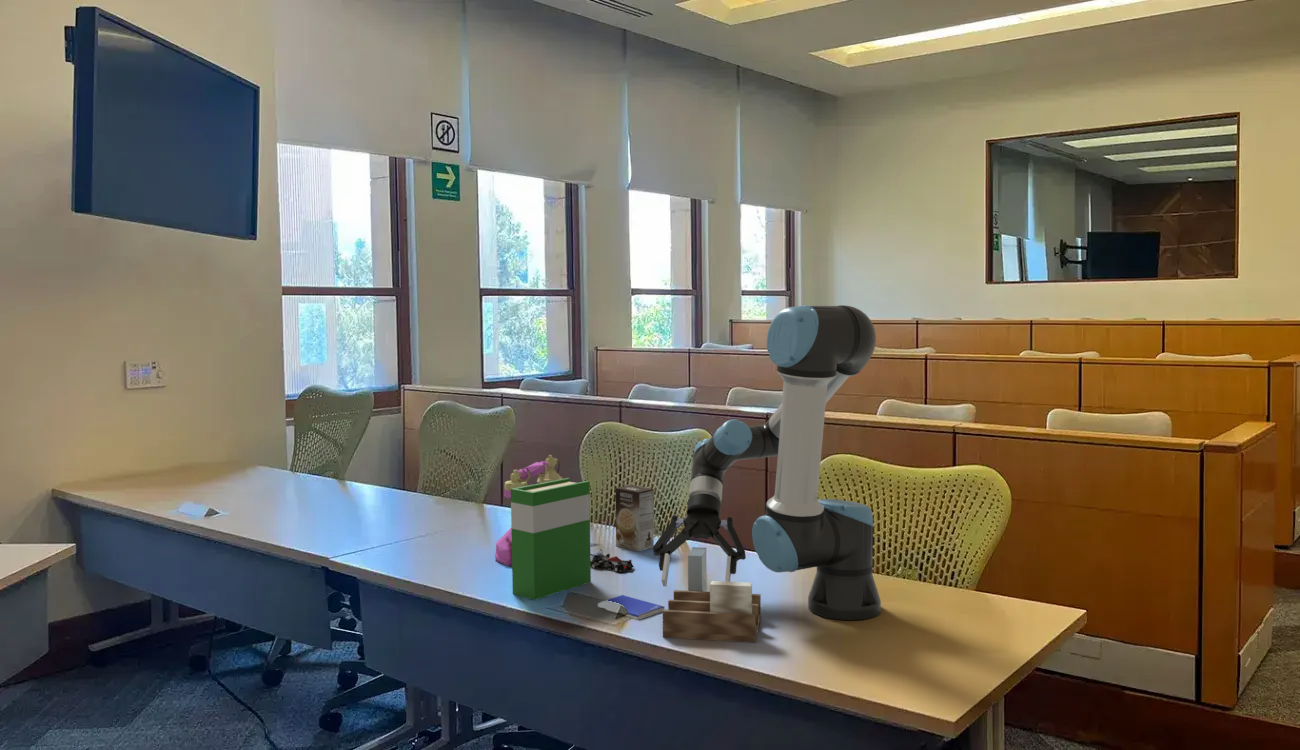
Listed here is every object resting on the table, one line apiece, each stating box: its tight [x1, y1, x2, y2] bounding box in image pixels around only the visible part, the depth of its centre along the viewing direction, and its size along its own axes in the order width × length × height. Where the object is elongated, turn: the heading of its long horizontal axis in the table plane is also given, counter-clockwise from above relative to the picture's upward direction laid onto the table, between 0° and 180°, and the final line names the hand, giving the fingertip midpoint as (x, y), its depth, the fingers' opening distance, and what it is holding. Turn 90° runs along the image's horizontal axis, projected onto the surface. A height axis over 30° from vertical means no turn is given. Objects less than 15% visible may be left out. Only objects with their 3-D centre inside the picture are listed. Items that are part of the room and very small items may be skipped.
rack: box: [662, 580, 762, 643], centre depth 190 cm, size 18×14×10 cm
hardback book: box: [510, 477, 592, 601], centre depth 218 cm, size 18×7×24 cm, turn 139°
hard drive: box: [607, 594, 666, 621], centre depth 203 cm, size 2×8×12 cm
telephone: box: [494, 454, 564, 566], centre depth 250 cm, size 36×22×25 cm, turn 161°
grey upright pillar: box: [687, 546, 708, 592], centre depth 203 cm, size 3×7×12 cm, turn 169°
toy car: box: [590, 548, 635, 573], centre depth 234 cm, size 6×12×4 cm, turn 58°
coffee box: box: [614, 484, 655, 552], centre depth 255 cm, size 9×6×16 cm
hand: (695, 585), depth 201 cm, fingers open, 13 cm apart
